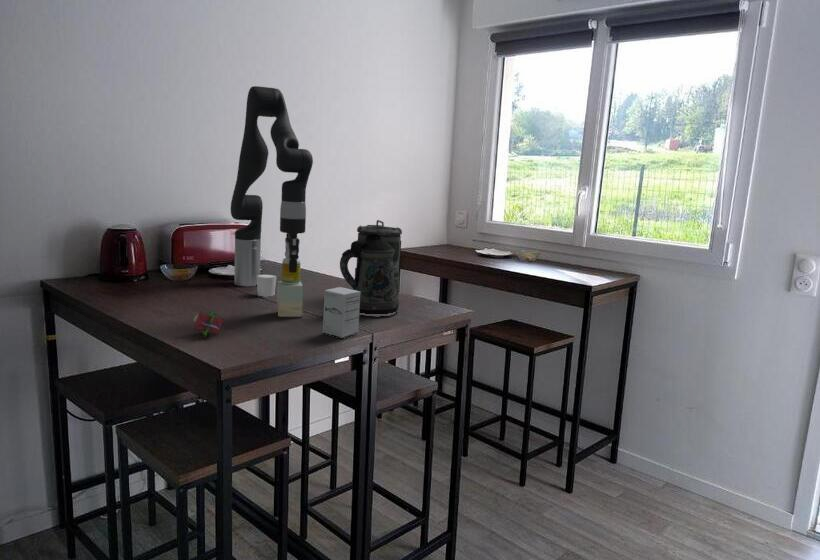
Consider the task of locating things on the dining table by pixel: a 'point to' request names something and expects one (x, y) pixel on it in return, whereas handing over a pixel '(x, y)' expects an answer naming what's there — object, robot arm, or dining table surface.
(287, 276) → the supplement bottle
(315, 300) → the dining table surface
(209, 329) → the geometric puzzle
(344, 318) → the supplement box
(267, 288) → the shot glass
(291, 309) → the tower base block
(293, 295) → the tower top block
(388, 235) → the canister
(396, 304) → the beer stein
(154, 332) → the dining table surface
